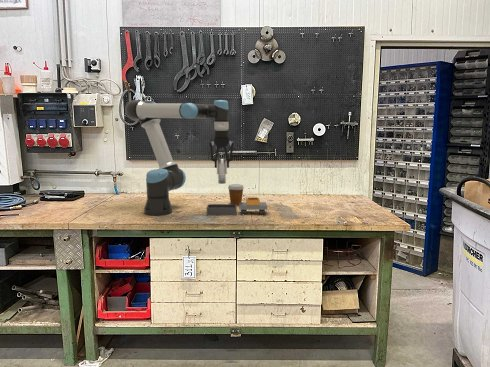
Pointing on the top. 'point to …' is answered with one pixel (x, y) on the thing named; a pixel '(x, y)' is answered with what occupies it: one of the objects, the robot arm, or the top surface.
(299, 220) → the top surface
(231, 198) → the disposable coffee cup
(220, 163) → the pin
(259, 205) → the plate with orange frame
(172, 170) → the robot arm
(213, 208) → the pin tray
